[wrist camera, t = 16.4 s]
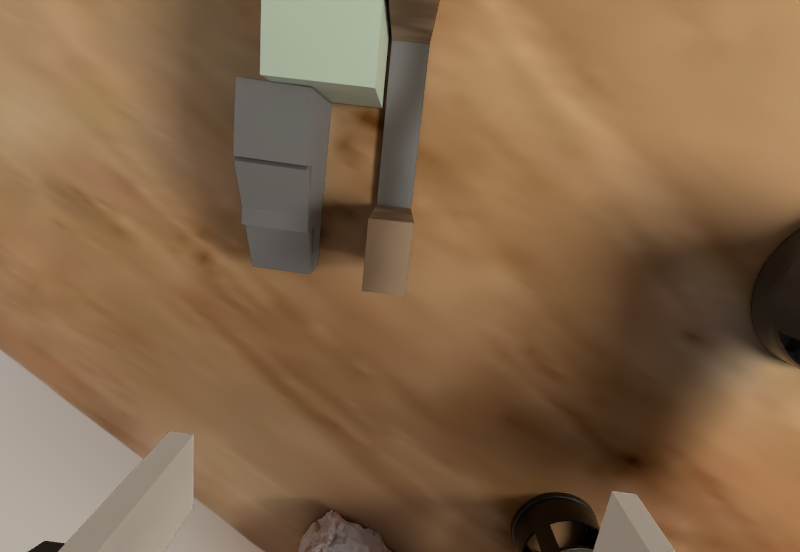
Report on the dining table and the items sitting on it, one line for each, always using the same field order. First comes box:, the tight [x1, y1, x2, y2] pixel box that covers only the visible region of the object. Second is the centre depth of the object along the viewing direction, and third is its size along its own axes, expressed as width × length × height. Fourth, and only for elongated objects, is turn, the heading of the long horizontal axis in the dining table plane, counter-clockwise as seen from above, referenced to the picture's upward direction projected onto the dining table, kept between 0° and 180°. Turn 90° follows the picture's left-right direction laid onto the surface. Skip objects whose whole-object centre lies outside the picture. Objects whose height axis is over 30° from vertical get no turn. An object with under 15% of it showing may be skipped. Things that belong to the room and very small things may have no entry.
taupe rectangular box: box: [362, 0, 440, 296], centre depth 30 cm, size 3×28×10 cm, turn 174°
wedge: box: [233, 76, 332, 274], centre depth 33 cm, size 5×14×8 cm, turn 172°
